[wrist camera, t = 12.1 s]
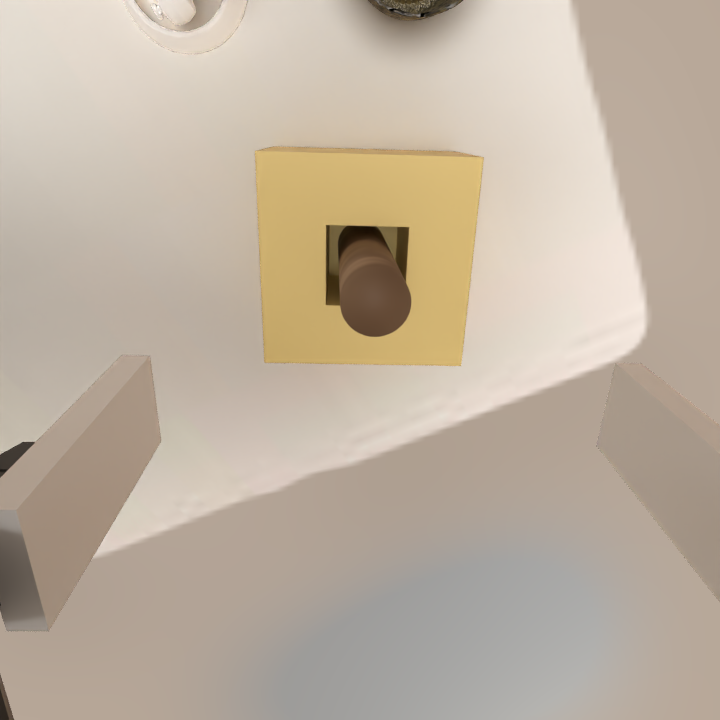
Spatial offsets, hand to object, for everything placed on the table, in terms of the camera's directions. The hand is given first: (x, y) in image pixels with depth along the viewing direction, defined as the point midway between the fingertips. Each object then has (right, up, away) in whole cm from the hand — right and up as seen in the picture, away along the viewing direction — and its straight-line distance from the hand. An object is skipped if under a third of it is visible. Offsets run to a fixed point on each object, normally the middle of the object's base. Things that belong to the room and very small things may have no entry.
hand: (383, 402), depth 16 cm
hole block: (-1, +10, +23) cm, 25 cm away
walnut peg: (-1, +9, +22) cm, 24 cm away
